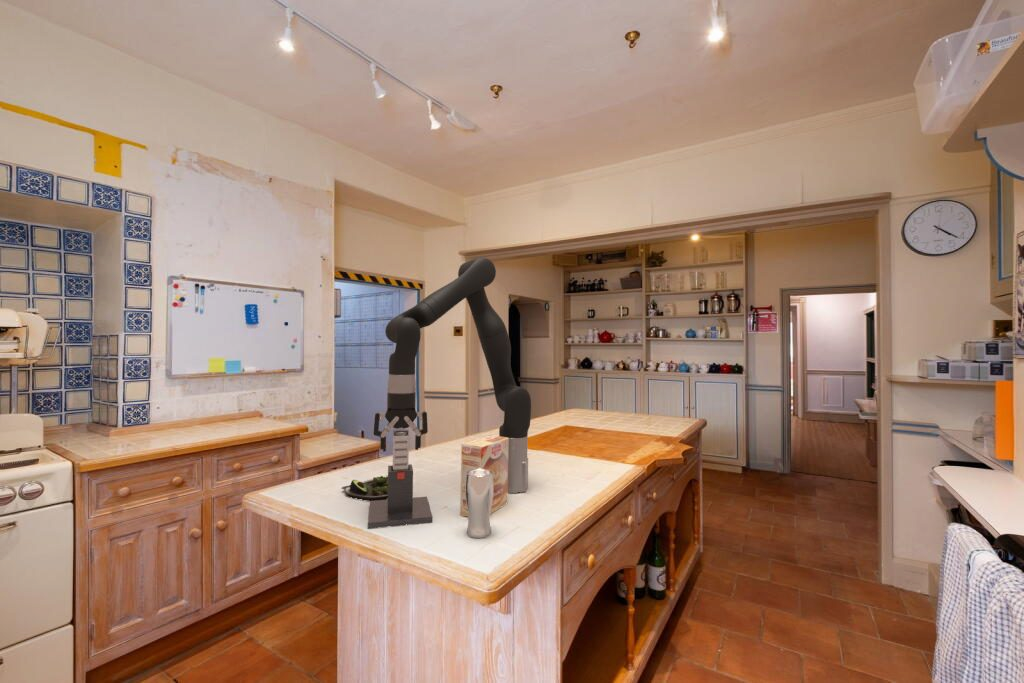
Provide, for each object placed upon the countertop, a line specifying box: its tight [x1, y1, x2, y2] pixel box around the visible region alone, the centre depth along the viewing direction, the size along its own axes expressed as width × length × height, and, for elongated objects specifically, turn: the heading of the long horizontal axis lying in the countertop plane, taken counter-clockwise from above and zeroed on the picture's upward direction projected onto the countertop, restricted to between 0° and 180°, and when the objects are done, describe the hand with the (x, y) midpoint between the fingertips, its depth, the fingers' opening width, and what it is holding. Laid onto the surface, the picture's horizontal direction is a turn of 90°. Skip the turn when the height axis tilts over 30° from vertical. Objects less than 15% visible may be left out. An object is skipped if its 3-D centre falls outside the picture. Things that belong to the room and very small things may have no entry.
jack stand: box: [367, 463, 433, 529], centre depth 121 cm, size 16×16×12 cm
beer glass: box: [465, 469, 494, 539], centre depth 110 cm, size 7×7×15 cm
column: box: [392, 428, 410, 471], centre depth 121 cm, size 4×4×21 cm
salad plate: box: [340, 474, 388, 502], centre depth 141 cm, size 19×18×5 cm
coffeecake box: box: [459, 434, 509, 518], centre depth 126 cm, size 15×7×20 cm, turn 151°
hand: (400, 450), depth 122 cm, fingers open, 8 cm apart
